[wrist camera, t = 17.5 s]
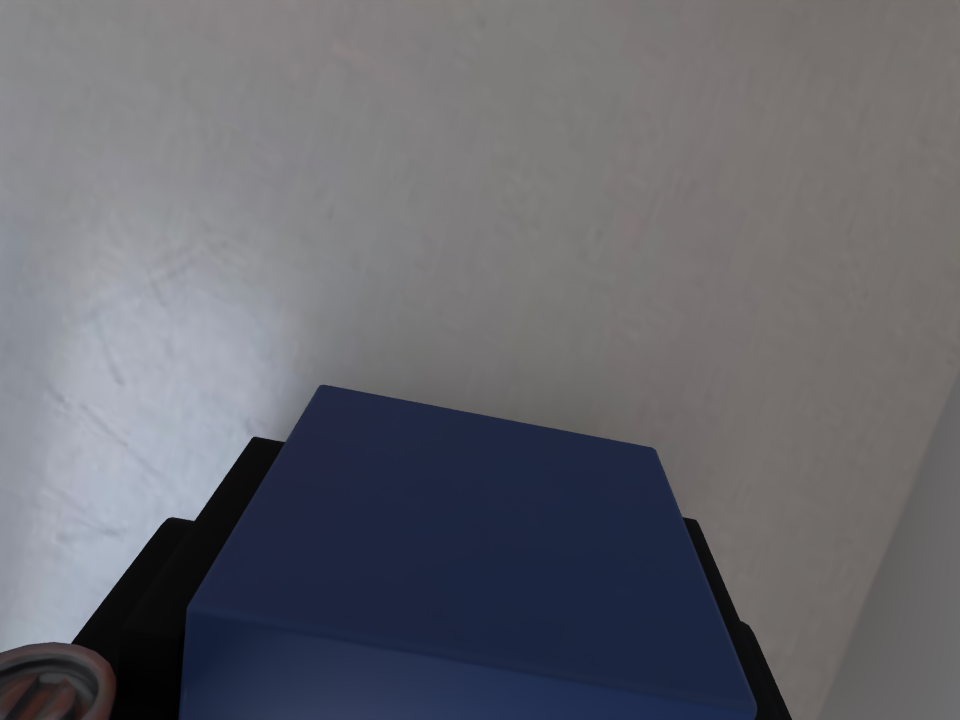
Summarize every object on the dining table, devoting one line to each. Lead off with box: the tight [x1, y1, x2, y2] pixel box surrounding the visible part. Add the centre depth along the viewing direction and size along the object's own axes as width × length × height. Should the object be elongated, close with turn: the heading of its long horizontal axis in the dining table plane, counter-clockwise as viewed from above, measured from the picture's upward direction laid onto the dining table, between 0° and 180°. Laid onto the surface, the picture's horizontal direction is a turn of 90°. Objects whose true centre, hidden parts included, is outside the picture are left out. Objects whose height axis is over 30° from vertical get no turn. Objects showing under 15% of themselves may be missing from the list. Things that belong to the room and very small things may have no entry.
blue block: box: [179, 385, 757, 720], centre depth 9 cm, size 5×5×5 cm
